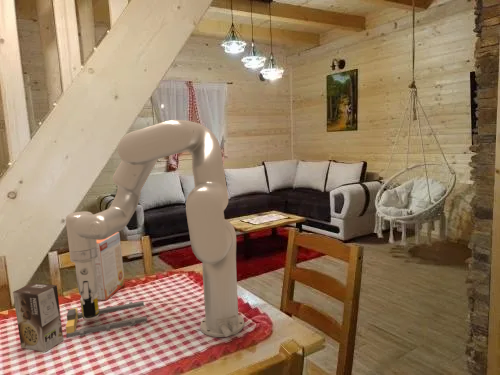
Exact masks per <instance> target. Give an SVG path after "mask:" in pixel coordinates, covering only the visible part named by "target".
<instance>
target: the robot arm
mask: <svg viewBox="0 0 500 375" xmlns="http://www.w3.org/2000/svg"><path fill="white" fill-rule="evenodd" d="M117 152H118V156H119V158H120V159H121V161H120V163H119V164H118V165H117V167H116V170H115V171H114V174H113V175H112V181H113V182H114V184H115V185H116V186H117V190H116V194H115V196H114V199H113V200H112V202H111V204H110V206H109V207H108V208H107V209H104V210H102V211H99V212H97V213H94V214H93V213H92V212H91V211H83V210H82V211H75V212H71V213H69V214H67V215H66V216H65V217H66V218H65V225H66V227H65V228H66V234H67V242H68V251H69V259H70V262H71V263H74V265H75V266H74V267H75V274H76V282H77V288H78V293H79V295H80V296H81V295H82V296H81V297H82V298H83V313H84V317H89V316H94V315H95V314H96V311H95V302H93V293H94V292H95V293H96V292H97V291H98V278H97V270H96V262H95V259H96V258H97V257H98V251H97V241H96V240H103V239H106V238H108V237H110V236H112V235H113V234H115V233H117V232H119V233H120V232H121V231H122V230H124V228H126V227H127V225H128V224H129V222H130V221H131V219H132V218H133V215H134V213H135V212H136V210H137V208H138V205H139V203H140V199H141V198H140V197H141V193H142V189H143V187H144V185H145V184H146V182H147V180H148V179H149V176H150V175H151V173H152V171H153V169H154V167H155V165H156V163H157V162H158V160H159V159H163V158H165V157H169V156H173V155H176V154H177V155H178V154H182V153H189V154H190V156H191V168H192V175H193V181H194V188H193V189H192V190H191V191H190V192H189V193H188V195H187V198H186V200H185V214H186V219H187V226H188V233H189V239H190V240H189V241H190V245H191V250H192V253H193V254H194V256H195V257H196V259H197V260H199V261H200V262H201V263H202V282H203V284H202V285H203V299H204V300H203V301H204V316H205V317H204V318H203V319H202V320H201V322H200V331H201V332H202V333H203V334H205V335H206V336H209V337H212V338H213V337H215V338H224V337H227V338H228V337H230V336H233V335H236V334H238V333H240V332H241V331H242V330H243V328H244V327H245V320H244V318H243V317H242V316H241V315H239V301H238V300H239V299H238V281H237V280H238V279H237V278H238V277H237V232H236V230H235V227H234V225H233V224H232V223H231V222H230V221H229V220H227V219H225V213H224V212H225V210H226V208H227V206H228V205H229V193H228V186H227V180H226V175H225V174H226V173H225V168H224V167H225V166H224V160H223V154H222V149H221V146H220V143H219V141H218V139H217V137H216V134H214V133H213V131H212V130H210V128H208V127H206V126H205V125H203V124H202V123H201V124H200V123H198V122H195V121H192V120H186V119H169V120H165V121H162V122H158V123H156V124H152V125H150V126H146V127H143V128H140V129H136V130H133V131H131V132H128V133H126V134H125V135H124V136H122V137H121V139H120V141H119V142H118V146H117ZM90 290H91V292H89V291H90ZM89 295H91V297H89Z"/></svg>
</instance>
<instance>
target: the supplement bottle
mask: <svg viewBox="0 0 500 375" xmlns="http://www.w3.org/2000/svg"><path fill="white" fill-rule="evenodd" d="M89 292H91V290H90V291H89ZM80 296H81V297H80V308H81V312H82V320H85V321H90V320H93V319H96V318H98V317H99V316H100V314H99V309H100V308H99V300H98V297H97V295H96V293H95V292H94V293H93V302H95V311H96V314H95V315H94V316H89V317H84V313H83V298H82V295H80ZM89 297H91V295H89Z"/></svg>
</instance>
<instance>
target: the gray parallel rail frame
mask: <svg viewBox="0 0 500 375" xmlns="http://www.w3.org/2000/svg"><path fill="white" fill-rule="evenodd" d="M144 302H145V301H144V300H141V301H136V302H133V301H130V302H128V303H126V304H119V305H114V306H111V305H109V306H108V305H107V306H106V307H104V308H99V315H101V314H102V315H103V314H107V313H114V312H117V311H123V310H129V309H133V308H137V307H143V306H145V303H144ZM80 318H82V311H81V312H78V319H80ZM82 319H83V318H82ZM141 322H142V323H145V322H148V317H147V315H146V316H141V317H140V316H139V317H136V318H130V319H126V320H125V319H124V320H121V321H115V322H110V323H105V324H100V325H95V326H90V327H85V328H80V329H76V330H75V331H74V332H72V333H66V335H65V336H66V339H68V338H72V337H77V336H79V337H84V336H85V335H88V334H92V333H96V332H101V331H106V332H109V331H111V330H112V329H116V328H117V329H118V328H121V327H122V328H123V327H125V326H132V327H134V326H136V323H137V324H140V323H141Z"/></svg>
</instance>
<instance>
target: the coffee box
mask: <svg viewBox="0 0 500 375" xmlns="http://www.w3.org/2000/svg"><path fill="white" fill-rule="evenodd" d="M58 292H59V291H58V285H56V284H48V283H47V284H46V283H38V282H31V283H29V284H27V285H25V286H23V287H20V288H18V289H17V290H14V291H13V292H12V294H13V295H12V296H13V302H14V309H15V315H16V324H17V328H18V334H19V342H20V343H19V344H20V348H22V349H28V350H32V351H37V352H38V351H39V352H43V353H44V352H45V353H46V352H48V351H49V350H51V349H53V348H54V347H55V346H57V345H59V344H60V343H61V342H63V341H64V335H63V334H64V333H63V327H62V326H63V325H62V318H61V310H60V303H59V302H60V300H59V293H58Z"/></svg>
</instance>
